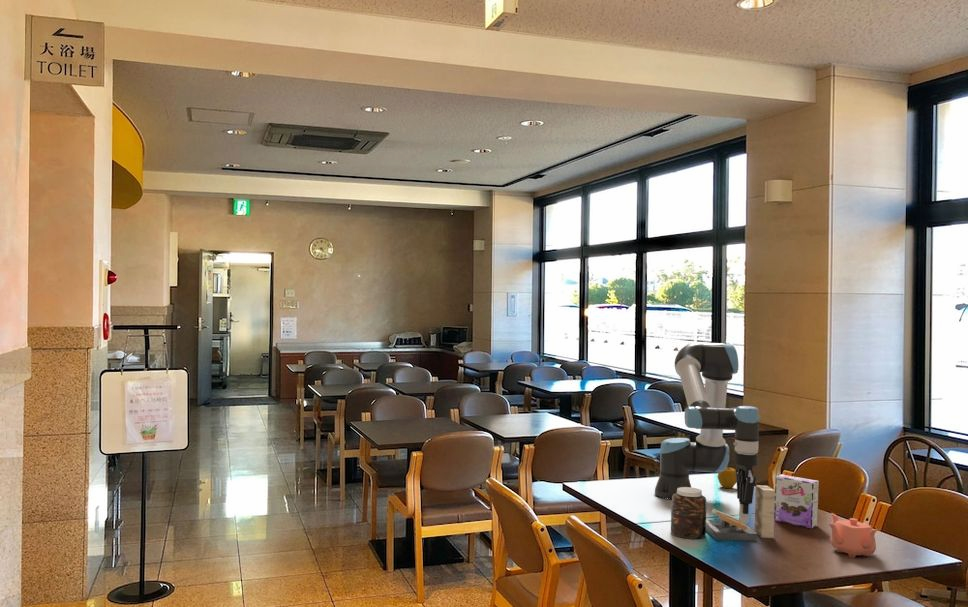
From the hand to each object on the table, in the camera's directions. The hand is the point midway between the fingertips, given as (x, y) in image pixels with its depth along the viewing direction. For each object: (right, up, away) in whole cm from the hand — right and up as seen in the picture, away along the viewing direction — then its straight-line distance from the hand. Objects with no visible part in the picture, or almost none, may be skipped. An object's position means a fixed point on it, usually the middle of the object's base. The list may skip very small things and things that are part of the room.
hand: (743, 522), depth 259 cm
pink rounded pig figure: (+29, -6, -14) cm, 33 cm away
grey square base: (-4, -5, +3) cm, 7 cm away
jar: (-19, -5, +1) cm, 19 cm away
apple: (+18, -6, +74) cm, 76 cm away
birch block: (+8, -5, +3) cm, 10 cm away
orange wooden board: (-4, 0, 0) cm, 4 cm away
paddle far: (-4, 0, +7) cm, 8 cm away
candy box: (+25, -6, +20) cm, 33 cm away
